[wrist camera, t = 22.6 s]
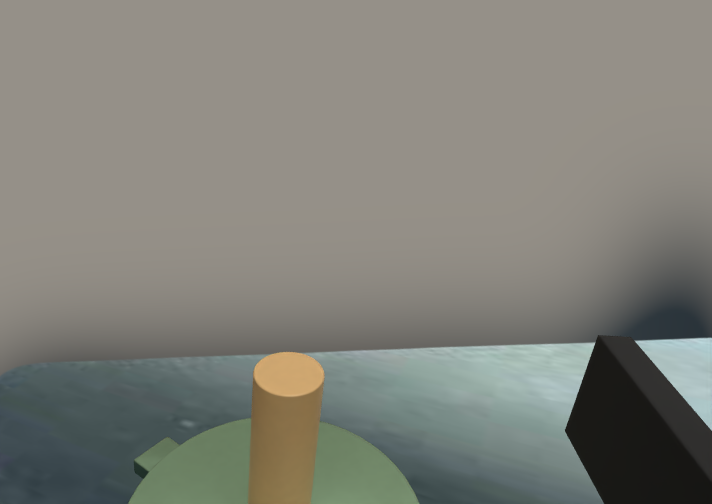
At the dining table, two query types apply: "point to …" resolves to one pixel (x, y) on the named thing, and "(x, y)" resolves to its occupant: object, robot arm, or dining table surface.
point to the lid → (277, 452)
